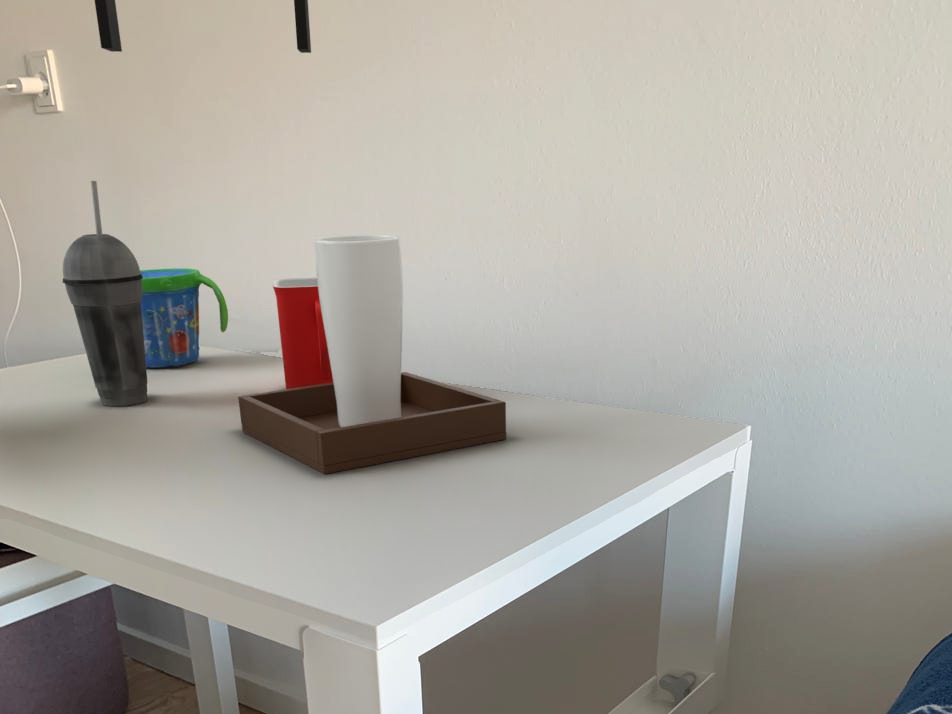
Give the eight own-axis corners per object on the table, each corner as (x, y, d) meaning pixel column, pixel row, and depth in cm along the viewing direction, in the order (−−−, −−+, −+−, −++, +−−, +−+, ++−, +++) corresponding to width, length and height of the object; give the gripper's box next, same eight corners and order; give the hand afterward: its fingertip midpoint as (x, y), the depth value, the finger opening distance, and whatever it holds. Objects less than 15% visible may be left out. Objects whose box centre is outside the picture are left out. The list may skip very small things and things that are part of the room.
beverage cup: (70, 407, 98) (25, 182, 89) (112, 392, 104) (74, 180, 95) (137, 410, 96) (98, 181, 87) (175, 394, 102) (142, 179, 94)
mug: (285, 386, 105) (274, 278, 100) (364, 381, 106) (356, 275, 101) (284, 411, 94) (271, 292, 90) (372, 406, 95) (363, 288, 91)
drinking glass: (425, 423, 86) (417, 235, 79) (379, 441, 81) (366, 242, 74) (362, 415, 89) (349, 234, 83) (313, 432, 84) (295, 240, 77)
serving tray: (242, 431, 87) (237, 396, 86) (407, 404, 96) (405, 371, 94) (324, 474, 75) (320, 433, 74) (506, 439, 83) (506, 401, 82)
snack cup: (83, 372, 115) (65, 278, 110) (121, 356, 124) (105, 269, 120) (216, 371, 113) (203, 276, 109) (244, 355, 123) (233, 266, 118)
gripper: (-63, -379, 58) (11, 44, 68) (367, -365, 60) (382, 46, 69) (-15, -323, 65) (47, 54, 74) (370, -313, 67) (384, 56, 76)
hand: (208, 51), depth 72 cm, fingers open, 13 cm apart
